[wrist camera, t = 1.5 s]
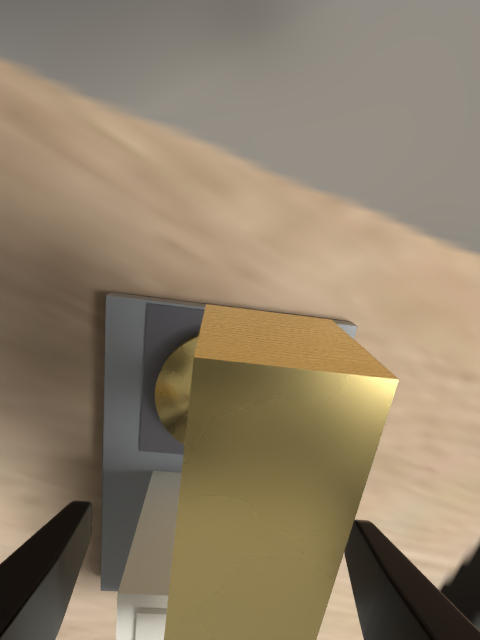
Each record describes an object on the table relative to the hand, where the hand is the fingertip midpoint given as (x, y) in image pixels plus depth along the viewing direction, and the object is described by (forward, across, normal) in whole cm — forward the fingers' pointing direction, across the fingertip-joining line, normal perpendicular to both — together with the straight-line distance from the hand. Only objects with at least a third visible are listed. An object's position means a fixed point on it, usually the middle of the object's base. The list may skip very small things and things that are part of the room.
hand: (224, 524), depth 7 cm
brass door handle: (+6, 0, 0) cm, 6 cm away
